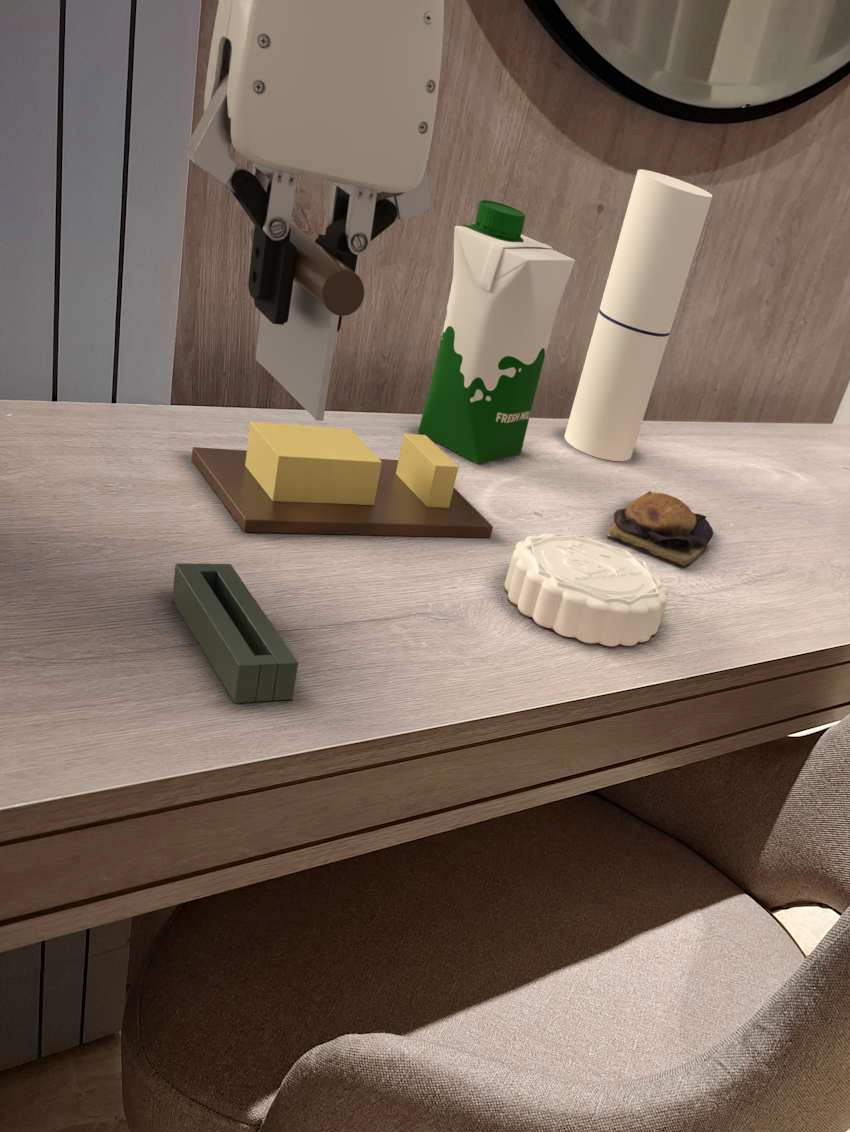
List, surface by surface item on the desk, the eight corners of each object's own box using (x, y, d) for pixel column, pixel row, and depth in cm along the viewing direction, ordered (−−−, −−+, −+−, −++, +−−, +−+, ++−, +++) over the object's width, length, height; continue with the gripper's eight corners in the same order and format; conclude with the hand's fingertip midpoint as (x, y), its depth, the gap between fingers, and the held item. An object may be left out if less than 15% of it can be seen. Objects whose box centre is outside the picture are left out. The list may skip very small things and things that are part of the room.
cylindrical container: (555, 441, 118) (628, 170, 105) (576, 426, 124) (649, 168, 111) (620, 467, 118) (703, 198, 104) (639, 450, 124) (719, 194, 110)
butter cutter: (303, 422, 61) (326, 266, 57) (236, 354, 67) (252, 208, 63) (343, 426, 62) (368, 273, 58) (274, 358, 68) (292, 215, 64)
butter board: (244, 532, 83) (245, 519, 82) (191, 459, 90) (192, 446, 89) (490, 537, 94) (493, 526, 94) (426, 472, 102) (428, 461, 101)
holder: (234, 703, 66) (239, 665, 64) (171, 599, 73) (175, 562, 71) (293, 700, 68) (299, 662, 66) (226, 598, 75) (230, 563, 73)
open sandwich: (687, 573, 101) (702, 534, 99) (598, 535, 102) (610, 495, 100) (717, 538, 110) (731, 501, 107) (634, 503, 110) (646, 466, 108)
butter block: (272, 501, 86) (278, 455, 84) (244, 465, 89) (250, 421, 87) (374, 505, 90) (382, 462, 88) (343, 471, 94) (350, 428, 92)
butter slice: (426, 507, 93) (436, 465, 91) (395, 474, 97) (403, 433, 95) (449, 508, 94) (458, 466, 92) (417, 475, 98) (425, 434, 96)
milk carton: (460, 419, 115) (509, 200, 104) (534, 457, 113) (593, 237, 102) (403, 429, 108) (449, 196, 97) (481, 470, 106) (537, 235, 95)
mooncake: (590, 563, 96) (603, 523, 94) (688, 639, 90) (703, 597, 88) (472, 573, 88) (483, 529, 86) (570, 656, 82) (584, 611, 80)
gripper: (472, -60, 59) (402, 313, 69) (143, -179, 50) (118, 273, 60) (546, -33, 55) (460, 361, 65) (201, -157, 46) (163, 326, 56)
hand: (296, 316), depth 62 cm, fingers closed on butter cutter, 2 cm apart
